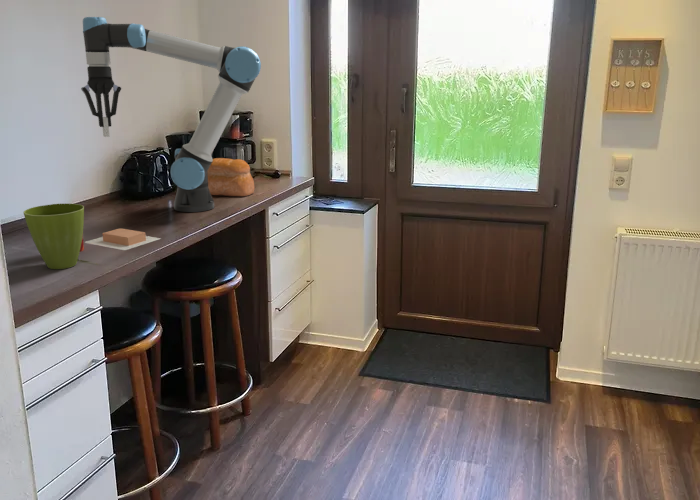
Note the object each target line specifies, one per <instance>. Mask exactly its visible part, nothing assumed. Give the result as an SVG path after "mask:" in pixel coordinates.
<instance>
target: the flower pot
mask: <svg viewBox="0 0 700 500" xmlns="http://www.w3.org/2000/svg"><path fill="white" fill-rule="evenodd" d="M23 215H24V220H25V222H26V225H27V228H28V231H29V233H30V236H31V238H32V240H33V243H34V244H35V247H36V249H37V250H38V253H39V254H40V256H41V259H42V260H43V262H44V263H45V265H46V266H47V268H48V269H50V270H63V269H69V268H72V267H74V266H76V265H77V263H78V260H79V255H80V253H81V252H80V248H81V242H82V235H83V236H84V223H85V222H84V221H85V220H84V219H85V206H84V205H82V204H80V203H79V204H78V203H52V204H45V205H38V206H33V207H29V208H26V209H25V210H24V211H23Z"/></svg>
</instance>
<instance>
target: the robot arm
mask: <svg viewBox="0 0 700 500" xmlns="http://www.w3.org/2000/svg"><path fill="white" fill-rule="evenodd" d="M144 26H145V25H143V24H141V23H108V21H107V19H106V17H102V16H85V17H84V18H83V19H82V34H83V40H84V41H83V42H84V48H85V59H86V65H88V66H87V69H86V70H87V76H88V80H87V82H86V83H87V84H86V85H84V86H83V87H81V88H80V90H81V91H82V92H83V94H84V96H85V98H86V101H87V104H88V107H89V109H90V111H91V114H92V116H94V117H97V118H98V119H97V120H98V126H99V127H101V128H102V134H103V137H105V138H109V137H110V129H109V127H112V119H111V118H112V117H113V116H116V114H117V109H118V101H119V97H120V96H119V95H120V93H121V90H122V86H119V85H117V84H115V82H114V80H113V74H112V67H111V66H110V65H111V55H110V48H129V49H133V50H139V51H143V52H147V53H151V54H156V55H159V56H163V57H168V58H170V59H171V58H172V59H175V60H180V61H184V62H187V63H190V64H191V63H192V64H196V65H200V66H204V67H208V68H212V69H216V70H217V71H218V75H217V77H218V81H219V82H218V86H217V87H216V89H215V91H214V93H213V95H212V97H211V100H210V101H209V102H208V104H207V106H206V109H205V110H204V113H203V114H202V116H201V119H200V121H199V123H198V125H197V126H196V128H195V131H194V132H193V134H192V137H191V138H190V141H189V142H188V143H186V144H185V143H184V144H183V145H182V146H181V148H176V149H175V150H174V159H175V160H174V161H173V163H172V164H171V166H170V171H169V172H170V178H171V180H172V182H173V183H174V185H176V187H177V188H176V194H175V198H174V201H173V209H174V210H175V211H177V212H182V213H183V212H184V213H197V212H205V211H210V210H214V208H215V200H214V198H213V195H211V193H210V190H209V186H208V169H209V167H210V165H211V163H212V161H213V159H214V158H213V157H212V155H213V152H214V149H215V148H216V146H217V144H218V143H219V140H220V138H221V136H222V134H223V132H224V130H225V129H226V127H227V125H228V123H229V121H230V119H231V117H232V116H233V114H234V111H235V110H236V107H237V105H238V103H239V101H240V99H241V97H242V96H243V95H244V94H245V95H246V94H248V93H249V92H250V90H251V88H252V86H253V84H254V82H255V80H256V78H257V77H258V76H259V74H260V72H261V67H262V66H261V65H262V62H261V59H260V57H259V55H258V53H257V52H256V51H255V50H253V49H252V48H250V47H248V46H237V47H231V46H228V45H223V46H221V47H219V46H215V45H211V44H208V43H207V44H206V43H204V42H200V41H195V40H192V39H186V38H183V37H178V36H175V35H173V34H172V35H170V34H166V33H163V32H160V31H156V30H150V29H148V28H145V27H144ZM90 89H91V90H90ZM111 90H113V96H112V101H111V106H110V97H109V96H110V92H111ZM90 91H92V92H93V93H94V95H95V101H96V102H95V103H96V107H95V103H94V102H93V98H92V96H91V93H90ZM102 96H103V102H104V103H103V102H102ZM102 103H103V105H104V111H105V116H104V113H103V105H102Z"/></svg>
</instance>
